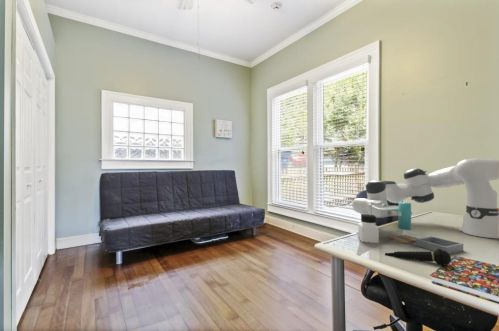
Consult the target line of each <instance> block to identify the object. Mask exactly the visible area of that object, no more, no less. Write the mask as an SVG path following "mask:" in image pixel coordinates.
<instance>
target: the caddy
mask: <svg viewBox="0 0 499 331" xmlns="http://www.w3.org/2000/svg"><path fill="white" fill-rule="evenodd" d="M418 238H419V237H418ZM414 243H415V246H416V247H420V248H422V249H425V250H426V249H427V250H429V251H431V252H434V251H435V250H437V249H441V250H445V251H447V252H448V253H449V254H450V255H451V254H452V255H453V254H455V253H460V252H463V251H464V243H461V242H457V241H454V240H453V241H452V240H449V239H444V238H441V237H438V236H427V237H420V238H419V239H416V240H415V242H414Z"/></svg>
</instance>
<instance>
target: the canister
mask: <svg viewBox="0 0 499 331" xmlns="http://www.w3.org/2000/svg"><path fill="white" fill-rule="evenodd" d="M398 206H399V208H398V212H403V216H397V218H398V219H397V220H398V225H397V226H398V230H404V231H412V215H411V212H412V203H411V202H404V201H402V202H399V203H398Z"/></svg>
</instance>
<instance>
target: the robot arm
mask: <svg viewBox="0 0 499 331" xmlns="http://www.w3.org/2000/svg"><path fill="white" fill-rule="evenodd" d="M403 177H404V178H403V179H404V180H405V182H406V183H403V182H402V183H397V182H396V181H395V180H393V181H392V180H377V179H376V180H370V181H368V182H367V183H366V185H365V190H366V197H367V198H362V197H356V198H354V199H353V200H352V210H353V211H354V212H356V213H358V214H361V215H362V214H372V215H374V216H376V218H379V219H384V218H387V217H396V216H397V217H398V216H403V212H398V208H399V205H389V204H388V202H390V203H392V204H399V202H404V201H406V199H408V198H410V200H411V201H414V202H416V203H420V204H427V203H429V202H431V201H432V200H434V199H435V193H434V192H433V189H432V188H435V189H442V188H449V187H456V186H460V185H464V186H465V189H466V193H467V194H466V198H467V202H466V203H467V204H466V206H465V212H466V213H465V214H464V215H463V216H462V223H461V224H462V225H461V227H459V228H458V231H460V232H463V234H464V233H465V234H467V235H470V236H476V237H481V238H488V239H499V208H498V194H497V191H496V190H494V189H493V187H492V185H491V183H490V182H491V181H497V180H499V159H496V158H468V159H463V160H460V161H459V162H457V164H456V165H451V166H448V167H445V168H440V169H438V170H437V169H436V170H434V171H433V172H431V173H427V170H425V171H424V170H423V169H421V168H410V169H408V170H407V171H406V172H404V173H403ZM412 215H413V212H412V211H411V216H412Z"/></svg>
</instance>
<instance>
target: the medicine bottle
mask: <svg viewBox="0 0 499 331" xmlns="http://www.w3.org/2000/svg"><path fill="white" fill-rule="evenodd" d="M360 220H361V221H360V222H358V226H357V229H358V233H357V235H358V237H357V238H358V239H359V240H360V241H361V243H368V242H369V244H370V243H371V244H379V243H380V242H379V241H380V227H379V226H378V225H377V221H376V220H377V217H376V216H374V215H372V214H361V216H360Z"/></svg>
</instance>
